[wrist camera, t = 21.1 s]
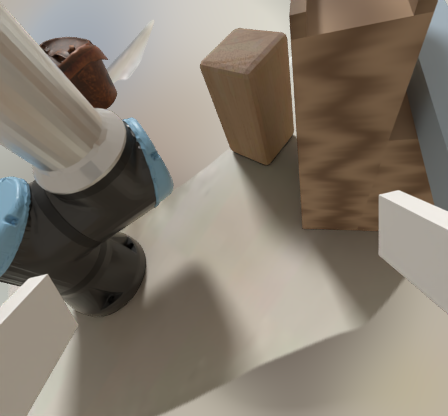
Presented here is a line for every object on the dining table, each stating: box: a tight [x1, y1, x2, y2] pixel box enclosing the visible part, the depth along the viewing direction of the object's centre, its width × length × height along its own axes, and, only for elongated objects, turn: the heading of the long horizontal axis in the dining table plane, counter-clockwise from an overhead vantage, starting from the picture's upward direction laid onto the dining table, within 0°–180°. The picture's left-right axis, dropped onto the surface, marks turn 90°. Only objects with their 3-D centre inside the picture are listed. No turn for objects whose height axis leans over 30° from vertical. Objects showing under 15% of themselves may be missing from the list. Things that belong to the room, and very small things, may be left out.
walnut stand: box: [289, 0, 438, 231], centre depth 30 cm, size 16×16×32 cm
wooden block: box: [200, 28, 294, 165], centre depth 46 cm, size 10×10×20 cm
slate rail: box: [406, 0, 448, 211], centre depth 22 cm, size 4×26×4 cm, turn 170°
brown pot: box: [39, 37, 117, 109], centre depth 75 cm, size 18×20×18 cm
